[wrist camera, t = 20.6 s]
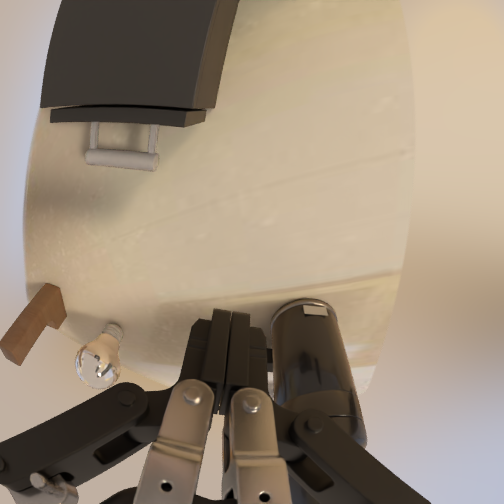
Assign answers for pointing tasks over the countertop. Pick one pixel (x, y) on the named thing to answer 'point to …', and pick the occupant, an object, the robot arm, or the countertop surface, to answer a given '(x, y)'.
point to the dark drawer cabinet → (138, 52)
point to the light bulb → (100, 359)
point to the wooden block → (33, 323)
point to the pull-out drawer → (127, 115)
